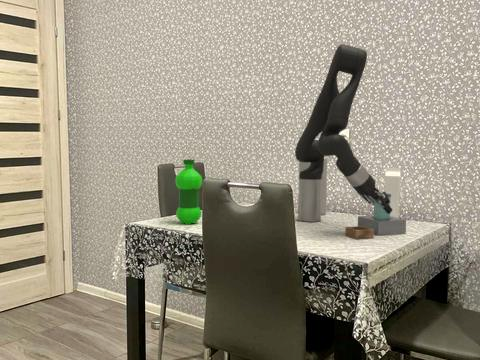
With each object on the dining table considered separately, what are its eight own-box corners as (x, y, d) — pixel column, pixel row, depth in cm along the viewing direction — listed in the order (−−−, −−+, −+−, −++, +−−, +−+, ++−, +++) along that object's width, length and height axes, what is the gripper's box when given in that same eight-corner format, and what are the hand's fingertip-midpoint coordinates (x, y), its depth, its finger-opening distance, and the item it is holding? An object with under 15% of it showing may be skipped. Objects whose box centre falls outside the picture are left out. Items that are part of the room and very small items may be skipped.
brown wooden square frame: (356, 239, 158) (356, 230, 158) (345, 235, 165) (345, 227, 164) (373, 238, 161) (373, 229, 161) (361, 234, 167) (361, 226, 167)
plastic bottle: (179, 225, 180) (179, 160, 178) (173, 221, 190) (173, 159, 188) (204, 224, 184) (204, 160, 182) (197, 220, 194) (197, 159, 192)
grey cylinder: (297, 211, 223) (298, 158, 221) (324, 211, 222) (326, 158, 220) (298, 215, 211) (299, 158, 209) (326, 215, 210) (328, 159, 208)
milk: (384, 218, 203) (385, 167, 202) (398, 219, 202) (400, 167, 200) (383, 220, 198) (385, 168, 196) (399, 221, 196) (400, 168, 194)
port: (378, 235, 165) (378, 221, 165) (357, 229, 177) (358, 216, 176) (405, 233, 170) (406, 219, 169) (384, 227, 181) (384, 214, 181)
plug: (380, 224, 170) (381, 194, 169) (373, 223, 174) (374, 193, 173) (389, 224, 172) (390, 194, 171) (382, 222, 176) (383, 192, 175)
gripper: (378, 172, 162) (405, 206, 168) (354, 169, 175) (380, 201, 181) (365, 188, 161) (393, 221, 166) (341, 184, 174) (368, 215, 179)
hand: (386, 211), depth 173 cm, fingers closed on plug, 4 cm apart
